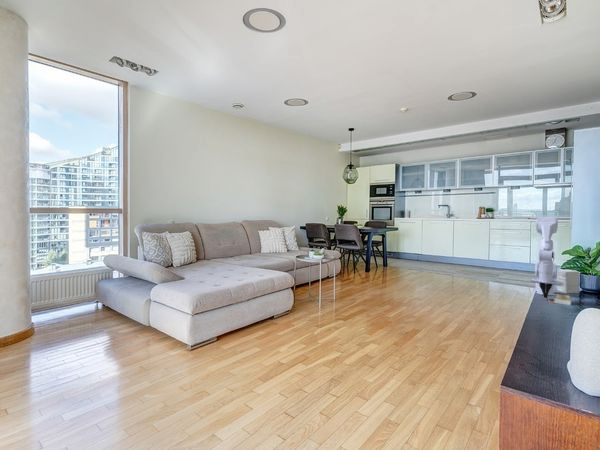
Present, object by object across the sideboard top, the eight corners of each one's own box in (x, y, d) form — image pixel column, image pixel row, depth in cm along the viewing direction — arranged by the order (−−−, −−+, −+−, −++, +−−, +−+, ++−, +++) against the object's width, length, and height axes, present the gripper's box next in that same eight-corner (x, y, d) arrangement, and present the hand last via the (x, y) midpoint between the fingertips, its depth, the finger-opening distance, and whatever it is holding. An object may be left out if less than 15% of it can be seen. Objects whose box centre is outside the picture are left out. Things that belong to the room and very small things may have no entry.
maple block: (556, 302, 161) (556, 295, 161) (556, 301, 164) (557, 293, 164) (569, 304, 158) (569, 296, 158) (569, 302, 161) (569, 295, 161)
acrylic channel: (554, 302, 161) (554, 298, 161) (555, 299, 166) (555, 296, 166) (570, 305, 157) (570, 301, 156) (571, 302, 161) (571, 298, 161)
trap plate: (547, 301, 163) (547, 301, 163) (548, 299, 168) (548, 298, 168) (554, 302, 161) (554, 302, 161) (554, 299, 166) (554, 299, 166)
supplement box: (569, 290, 185) (570, 269, 184) (579, 293, 177) (580, 271, 177) (556, 290, 185) (556, 269, 185) (565, 293, 178) (566, 271, 178)
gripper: (528, 271, 167) (527, 296, 168) (563, 275, 158) (562, 301, 158) (530, 269, 173) (529, 293, 173) (564, 273, 163) (563, 298, 163)
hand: (545, 297), depth 166 cm, fingers closed
